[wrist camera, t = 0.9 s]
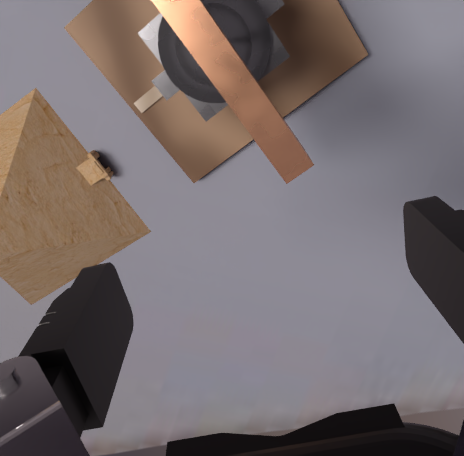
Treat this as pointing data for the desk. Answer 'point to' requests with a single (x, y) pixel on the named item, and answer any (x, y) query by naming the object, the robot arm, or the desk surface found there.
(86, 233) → the model pyramid
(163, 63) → the lever handle
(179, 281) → the desk surface
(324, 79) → the post base
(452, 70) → the desk surface
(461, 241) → the robot arm
